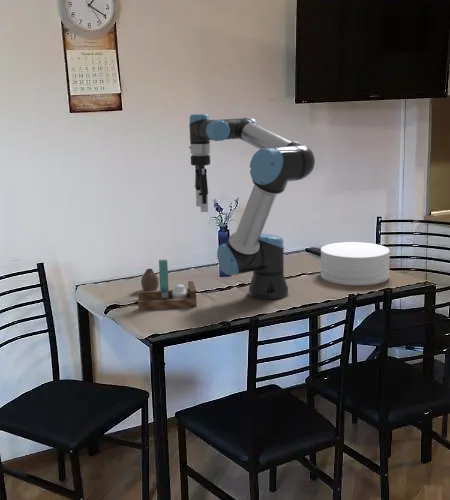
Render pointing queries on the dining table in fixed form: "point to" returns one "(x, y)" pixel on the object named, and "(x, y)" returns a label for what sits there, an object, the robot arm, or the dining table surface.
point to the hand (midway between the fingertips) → (202, 209)
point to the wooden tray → (169, 302)
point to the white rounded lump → (179, 292)
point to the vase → (149, 281)
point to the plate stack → (355, 263)
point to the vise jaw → (163, 279)
